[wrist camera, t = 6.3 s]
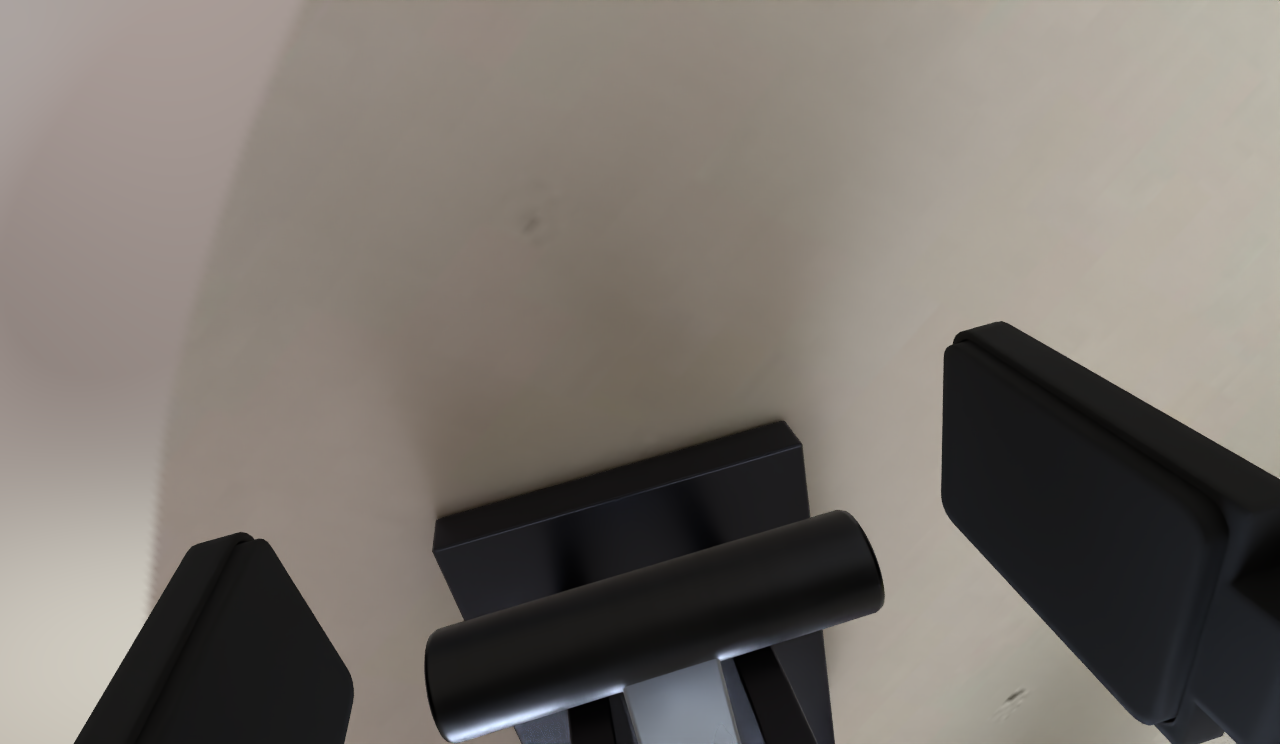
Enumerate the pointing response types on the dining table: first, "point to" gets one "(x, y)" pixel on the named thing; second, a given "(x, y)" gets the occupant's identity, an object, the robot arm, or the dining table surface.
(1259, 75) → the dining table surface
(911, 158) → the dining table surface
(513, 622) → the switch lever
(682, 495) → the switch bracket
